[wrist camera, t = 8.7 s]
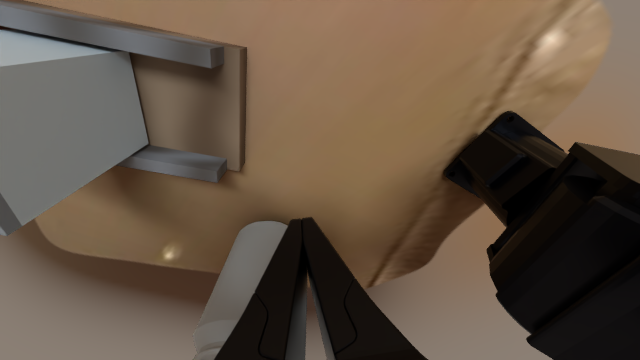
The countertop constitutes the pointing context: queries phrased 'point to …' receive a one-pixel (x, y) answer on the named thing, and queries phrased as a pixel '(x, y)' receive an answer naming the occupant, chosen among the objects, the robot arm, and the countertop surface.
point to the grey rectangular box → (60, 120)
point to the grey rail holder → (164, 87)
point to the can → (236, 285)
